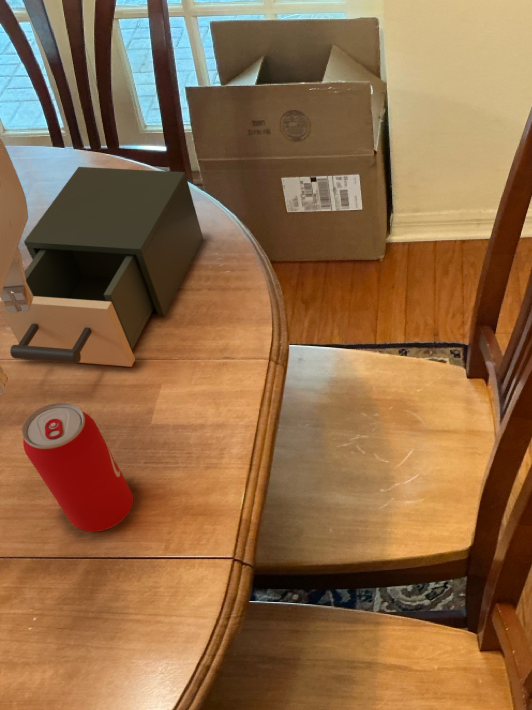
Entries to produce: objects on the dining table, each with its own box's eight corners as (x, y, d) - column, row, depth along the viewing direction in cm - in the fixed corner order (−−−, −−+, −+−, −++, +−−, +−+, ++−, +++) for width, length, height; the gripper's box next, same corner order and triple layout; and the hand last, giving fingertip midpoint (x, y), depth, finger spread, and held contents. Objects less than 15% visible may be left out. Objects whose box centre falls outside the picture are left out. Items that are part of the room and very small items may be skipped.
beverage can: (131, 478, 77) (87, 390, 67) (139, 525, 73) (93, 439, 64) (68, 495, 76) (13, 408, 66) (72, 543, 72) (16, 459, 63)
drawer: (115, 397, 82) (89, 340, 76) (8, 388, 84) (-27, 331, 77) (173, 285, 93) (154, 227, 87) (77, 279, 95) (51, 221, 88)
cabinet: (165, 320, 91) (140, 248, 83) (58, 312, 92) (23, 241, 85) (204, 243, 100) (185, 171, 92) (105, 237, 101) (78, 166, 94)
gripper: (-91, 265, 41) (23, 443, 52) (-5, 86, 53) (73, 262, 64) (-212, 275, 41) (-71, 451, 52) (-98, 93, 52) (-3, 269, 64)
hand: (9, 346), depth 58 cm, fingers open, 8 cm apart
